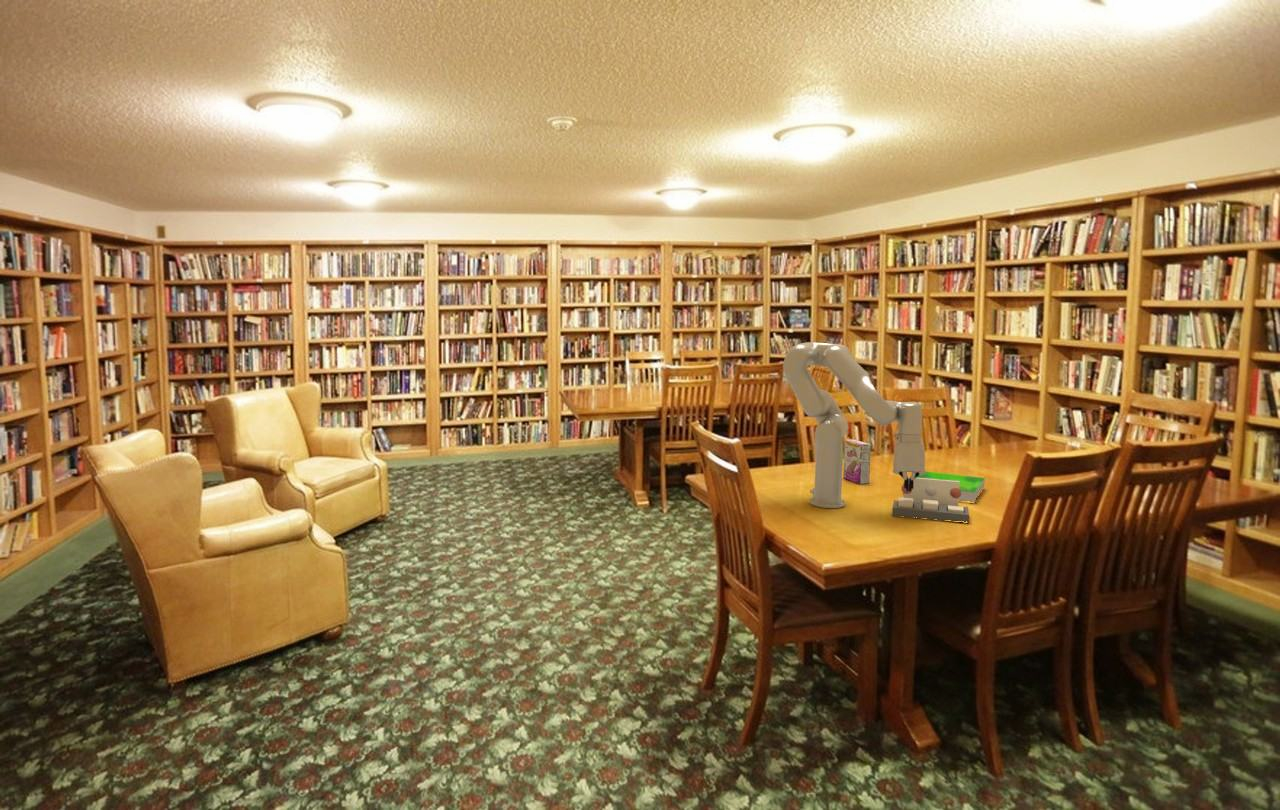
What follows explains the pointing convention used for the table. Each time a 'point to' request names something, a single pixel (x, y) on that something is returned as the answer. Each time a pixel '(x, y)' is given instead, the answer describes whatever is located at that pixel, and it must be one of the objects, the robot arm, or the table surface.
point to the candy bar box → (857, 461)
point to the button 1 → (905, 502)
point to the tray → (960, 484)
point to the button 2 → (955, 509)
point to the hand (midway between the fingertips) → (908, 490)
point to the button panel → (935, 491)
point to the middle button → (930, 504)
